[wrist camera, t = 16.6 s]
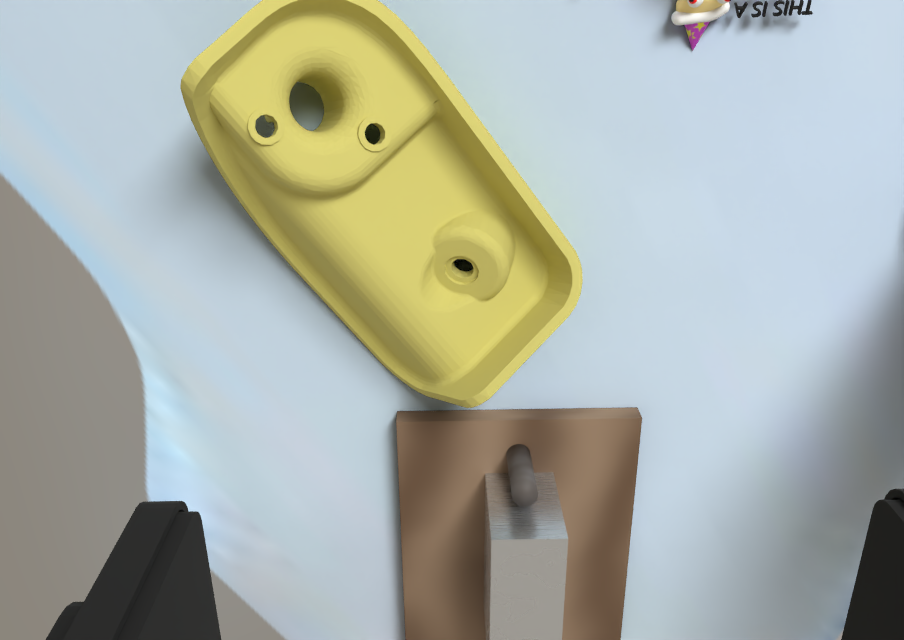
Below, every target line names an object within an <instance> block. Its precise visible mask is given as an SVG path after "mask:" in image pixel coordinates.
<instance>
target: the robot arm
mask: <svg viewBox="0 0 904 640" xmlns="http://www.w3.org/2000/svg"><path fill="white" fill-rule="evenodd" d="M46 640H221V635H220V630H219V623H218V617H217V611H216V605H215V599H214V593H213V587H212V581H211V574H210V568H209V562H208V556H207V550H206V544H205V538H204V531H203V525H202V520H201V516H200V514H199V512H188V508H187V506H186V504H185V502H183V501H160V502H142V503H140V504H139V505H138V506H137V507H136V509H135V511H134V513H133V514H132V516H131V518H130V520H129V522H128V523H127V525H126V527H125V529H124V531H123V533H122V534H121V536H120V538H119V540H118V542H117V543H116V545H115V547H114V549H113V551H112V552H111V554H110V556H109V558H108V559H107V561H106V563H105V565H104V567H103V569H102V570H101V572H100V574H99V576H98V578H97V579H96V581H95V583H94V585H93V587H92V589H91V590H90V592H89V594H88V596H87V597H86V599H85V601H84V602H73V603H71V604H70V605H68V606H67V607H66V608H65V609H64V611H63V612H62V613H61V615H60V616H59V618H58V620H57V621H56V623H55V625H54V626H53V628H52V630H51V632H50V633H49V635H48V637H47V638H46ZM841 640H904V489H893V490H890V491H889V492H888V494H887V495H886V497H885V499H884V500H879V501H877V502H876V504H875V505H874V508H873V511H872V515H871V519H870V524H869V528H868V532H867V536H866V540H865V544H864V548H863V552H862V557H861V561H860V565H859V569H858V573H857V577H856V581H855V585H854V590H853V594H852V598H851V602H850V606H849V610H848V614H847V618H846V623H845V627H844V631H843V635H842V639H841Z"/></svg>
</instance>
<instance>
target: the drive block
mask: <svg viewBox="0 0 904 640" xmlns="http://www.w3.org/2000/svg"><path fill="white" fill-rule="evenodd" d="M534 475H535V480H536V486H537V491H538V498H537V500H536V502H535V503H534V504H532V505H530V506H519V505H517V504H516V503H515V502H514V501H513V499H512V493H511V486H510V478H509V473H485V539H484V616H485V630H486V640H562V630H563V614H564V599H565V583H566V567H567V551H568V535H567V531H566V526H565V522H564V518H563V513H562V509H561V504H560V500H559V495H558V491H557V486H556V482H555V478H554V473H553V472H546V473H534Z"/></svg>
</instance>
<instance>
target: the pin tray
mask: <svg viewBox="0 0 904 640" xmlns="http://www.w3.org/2000/svg"><path fill="white" fill-rule="evenodd" d="M641 423H642V417H641V415H640V412H639V410H638V408H574V409H512V410H449V411H397V420H396V427H397V451H398V474H399V497H400V521H401V544H402V567H403V591H404V614H405V637H406V640H486V630H485V616H484V539H485V473H509V478H510V486H511V493H512V499H513V501H514V502H515V503H516V504H517V505H519V506H530V505H532V504H534V503H535V502H536V500H537V498H538V491H537V486H536V480H535V475H534V473H546V472H553V473H554V478H555V482H556V486H557V491H558V495H559V500H560V504H561V509H562V513H563V518H564V522H565V526H566V531H567V535H568V551H567V567H566V583H565V599H564V614H563V630H562V640H620V638H621V628H622V618H623V607H624V597H625V587H626V577H627V566H628V556H629V546H630V536H631V525H632V515H633V505H634V495H635V484H636V474H637V464H638V454H639V444H640V433H641Z"/></svg>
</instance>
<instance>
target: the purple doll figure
mask: <svg viewBox="0 0 904 640" xmlns="http://www.w3.org/2000/svg"><path fill="white" fill-rule="evenodd" d="M729 1H731V0H678V1H677V3H676V11H675V12H674V13H673V14H672V17H671V20H672V22H673V23H674V24H675V25H685V28H686V31H687V34H688V38H689V41H690V44H691V48H692V51H693V49H694V48H695V46H696V44H697V43H698V41H699V39H700V37H701V36H702V34H703V32H704V31H705V29H706V27H707V26H708V24H709V22H710V21H713V20H715V19H718V18H719V17H721V16H722V15H724V14H726V13H727V12H728V11H729V9H730V4H729ZM794 2H795V1H794V0H792V1H791V5H790V9H789V15H792V11H793V9H798V15H800V14H801V13H802V15H809V14H812V11H809V9H810V5H811V0H808V3H807V7H806V11H802V12H801V10H802V6H803V2H804V1H803V0H800V4H799V6H794ZM734 4H735V8H736V13H737V17H738V18H740V17H741V15H742V13H743V12H744V10H745V8H746V7H747V5H748V3H747V2H745V3H744V5H743V6H737V3H734ZM767 4H768V3H767V1H765V3H764V8H763V13H762V15H763V17H765V14H766V9H767ZM778 4H784V1H782V0H778V1H776V2H775V3H774V6H775V8H776V9H777V10H779V12H778V13H773V16H780V15H781V14H782V10H781V8H780V7H778V6H777V5H778ZM757 5H762V6H763V3H762V2H760V1H757V2H755V3H754V4H753V8H754V10H756V11H758V13H757V14H751V15H752V17H759V16H760V15H761V11H760V10H759V9H758V8H756V6H757ZM788 6H789V1H788V0H786V4H785V8H784V13H783V14H784V16H786V14H787V10H788ZM738 10H740V12H739V11H738Z"/></svg>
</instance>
